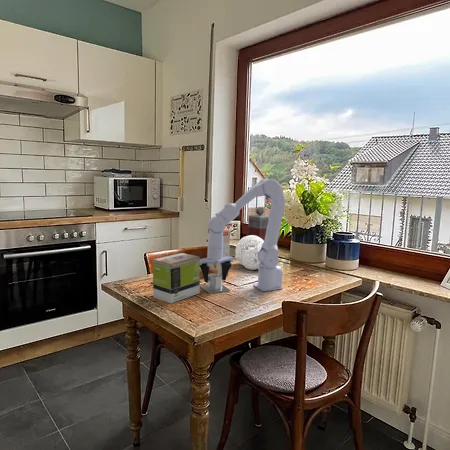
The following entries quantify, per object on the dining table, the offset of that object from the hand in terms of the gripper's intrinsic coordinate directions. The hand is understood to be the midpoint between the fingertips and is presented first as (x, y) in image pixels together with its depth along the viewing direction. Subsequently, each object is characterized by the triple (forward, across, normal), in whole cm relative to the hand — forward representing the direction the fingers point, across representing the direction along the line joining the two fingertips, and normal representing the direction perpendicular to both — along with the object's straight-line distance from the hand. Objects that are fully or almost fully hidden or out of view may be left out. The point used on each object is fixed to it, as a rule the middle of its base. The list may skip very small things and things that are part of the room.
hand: (214, 281), depth 143 cm
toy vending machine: (+3, +46, +44) cm, 64 cm away
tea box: (+4, -16, -2) cm, 17 cm away
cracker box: (+3, +12, +22) cm, 25 cm away
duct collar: (+3, 0, 0) cm, 3 cm away
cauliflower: (+4, +32, +24) cm, 41 cm away
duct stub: (+3, 0, 0) cm, 3 cm away
